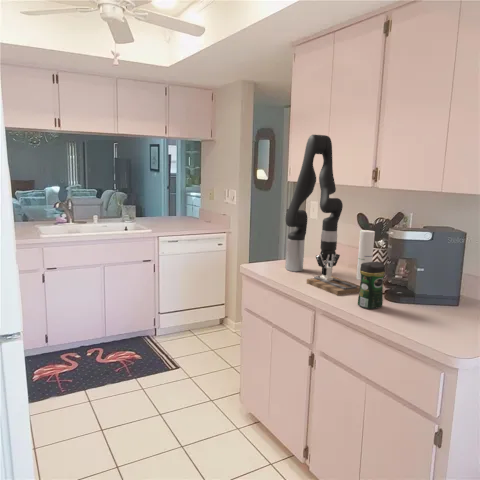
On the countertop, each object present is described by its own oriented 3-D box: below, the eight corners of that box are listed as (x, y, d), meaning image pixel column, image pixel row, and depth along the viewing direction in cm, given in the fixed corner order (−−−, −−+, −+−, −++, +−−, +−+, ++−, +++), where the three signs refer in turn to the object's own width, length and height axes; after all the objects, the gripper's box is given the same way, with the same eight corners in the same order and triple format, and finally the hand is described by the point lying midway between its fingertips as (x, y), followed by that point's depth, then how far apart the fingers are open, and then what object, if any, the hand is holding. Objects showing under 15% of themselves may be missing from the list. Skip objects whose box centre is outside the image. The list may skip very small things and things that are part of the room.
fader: (319, 278, 199) (320, 266, 198) (326, 277, 201) (326, 265, 200) (326, 281, 195) (327, 268, 194) (332, 280, 197) (333, 267, 196)
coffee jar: (370, 302, 172) (374, 259, 169) (385, 307, 165) (389, 263, 162) (353, 304, 168) (357, 260, 165) (368, 310, 161) (372, 265, 158)
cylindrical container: (371, 281, 206) (375, 232, 202) (356, 280, 208) (360, 231, 204) (369, 277, 213) (374, 230, 209) (355, 276, 215) (359, 229, 211)
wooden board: (306, 283, 199) (306, 277, 199) (331, 279, 207) (332, 274, 206) (337, 295, 180) (337, 289, 180) (363, 291, 188) (364, 285, 187)
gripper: (334, 237, 202) (332, 271, 204) (312, 239, 195) (310, 274, 198) (345, 240, 195) (342, 275, 198) (322, 241, 189) (320, 278, 191)
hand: (326, 274), depth 198 cm, fingers closed on fader, 2 cm apart
